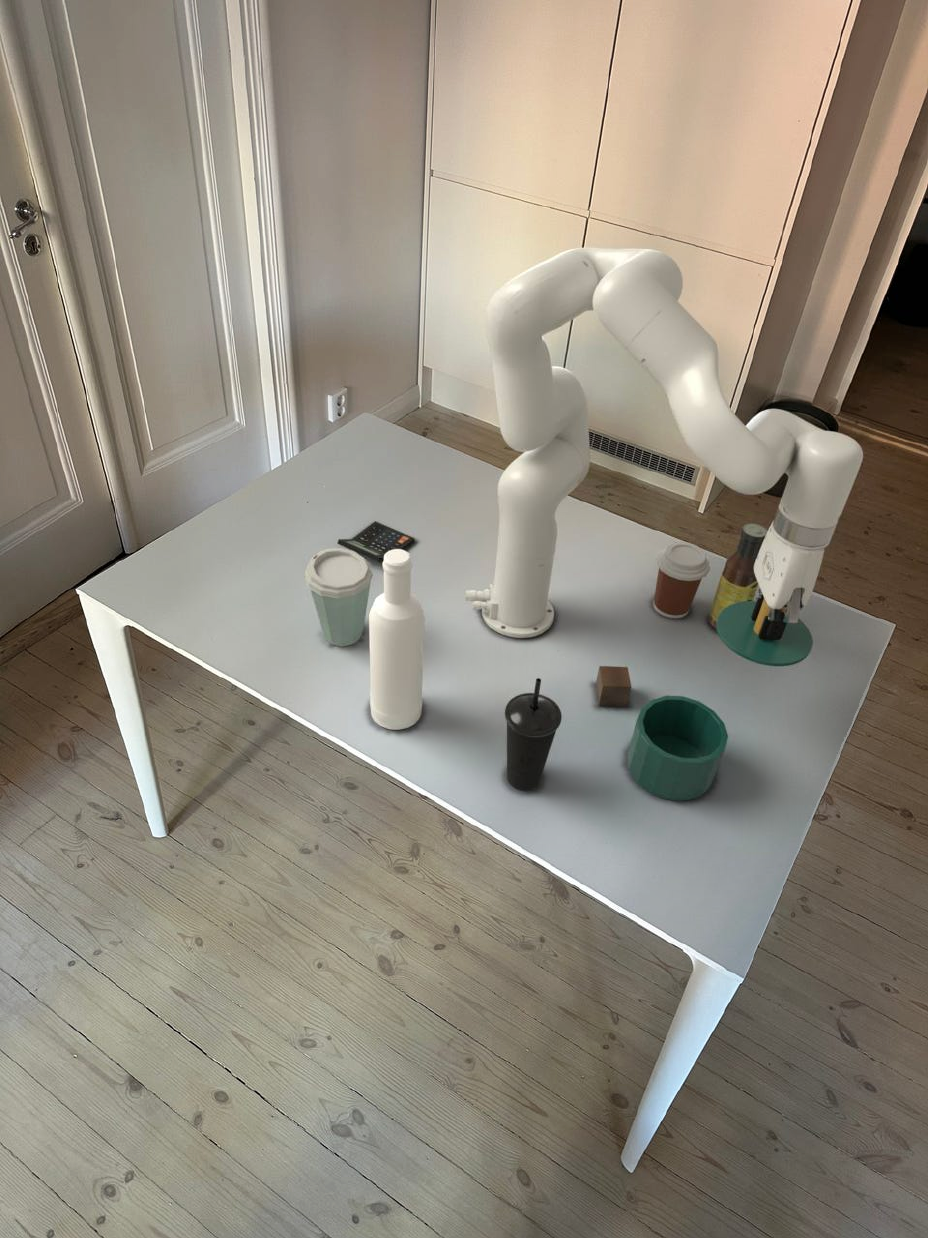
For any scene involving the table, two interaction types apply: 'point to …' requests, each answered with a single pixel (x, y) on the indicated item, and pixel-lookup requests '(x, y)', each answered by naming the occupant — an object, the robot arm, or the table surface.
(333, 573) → the disposable coffee cup
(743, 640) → the tin lid
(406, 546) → the calculator
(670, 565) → the coffee cup
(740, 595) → the sauce bottle
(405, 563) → the bottle
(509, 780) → the drinking cup
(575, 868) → the table surface
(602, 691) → the block
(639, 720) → the tin
